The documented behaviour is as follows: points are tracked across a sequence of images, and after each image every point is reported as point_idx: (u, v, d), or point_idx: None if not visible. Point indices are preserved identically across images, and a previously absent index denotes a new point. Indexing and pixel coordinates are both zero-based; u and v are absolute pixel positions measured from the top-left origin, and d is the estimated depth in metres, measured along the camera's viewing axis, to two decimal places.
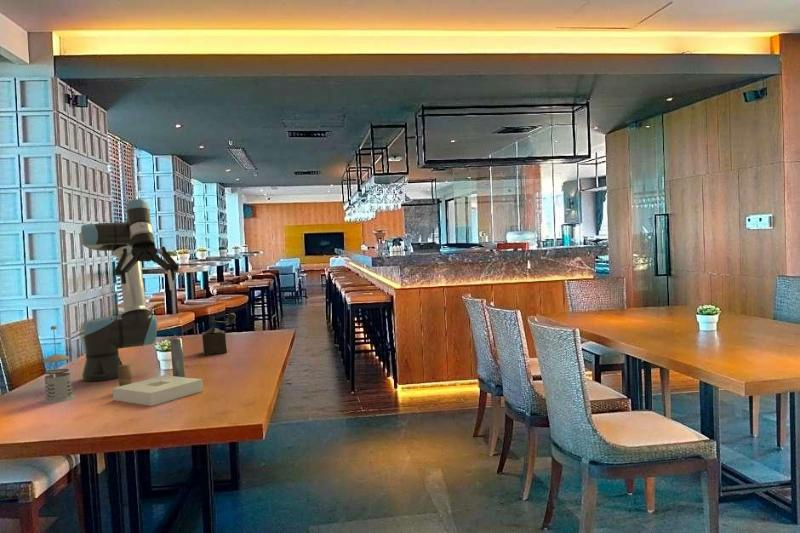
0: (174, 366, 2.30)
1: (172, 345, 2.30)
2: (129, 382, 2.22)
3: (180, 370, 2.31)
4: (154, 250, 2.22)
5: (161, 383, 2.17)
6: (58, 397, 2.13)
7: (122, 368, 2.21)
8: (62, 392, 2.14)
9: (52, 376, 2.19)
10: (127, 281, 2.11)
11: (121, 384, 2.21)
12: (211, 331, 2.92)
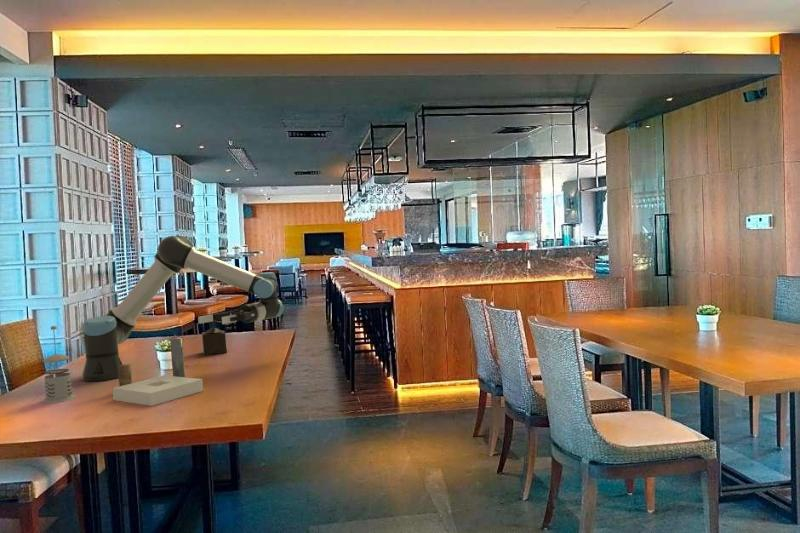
0: (174, 366, 2.30)
1: (172, 345, 2.30)
2: (129, 382, 2.22)
3: (180, 370, 2.31)
4: None
5: (161, 383, 2.17)
6: (58, 397, 2.13)
7: (122, 368, 2.21)
8: (62, 392, 2.14)
9: (52, 376, 2.19)
10: None
11: (121, 384, 2.21)
12: (211, 331, 2.92)
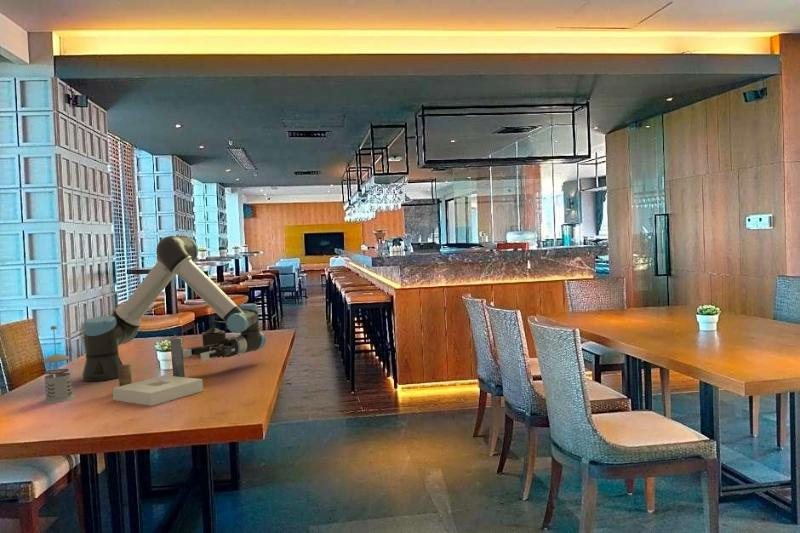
0: (174, 366, 2.30)
1: (172, 345, 2.30)
2: (129, 382, 2.22)
3: (180, 370, 2.31)
4: None
5: (161, 383, 2.17)
6: (58, 397, 2.13)
7: (122, 368, 2.21)
8: (62, 392, 2.14)
9: (52, 376, 2.19)
10: None
11: (121, 384, 2.21)
12: (211, 331, 2.92)
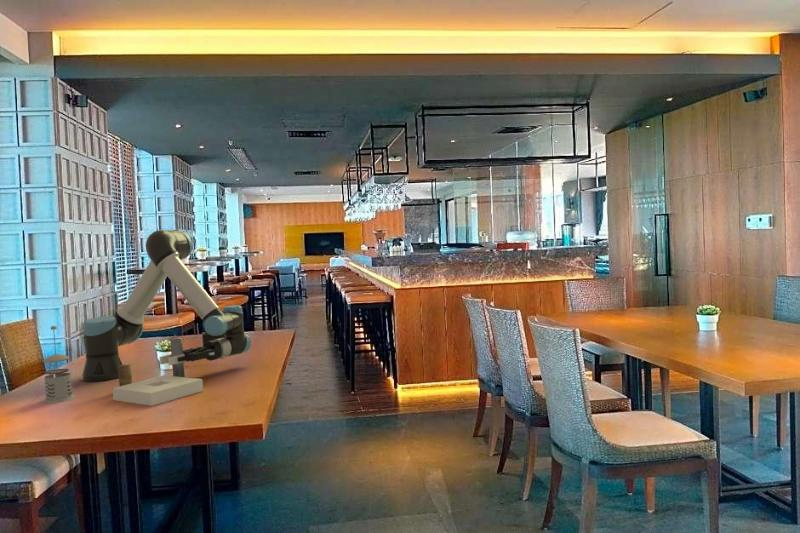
0: (174, 366, 2.30)
1: (172, 345, 2.30)
2: (129, 382, 2.22)
3: (180, 370, 2.31)
4: None
5: (161, 383, 2.17)
6: (58, 397, 2.13)
7: (122, 368, 2.21)
8: (62, 392, 2.14)
9: (52, 376, 2.19)
10: (176, 363, 2.29)
11: (121, 384, 2.21)
12: None
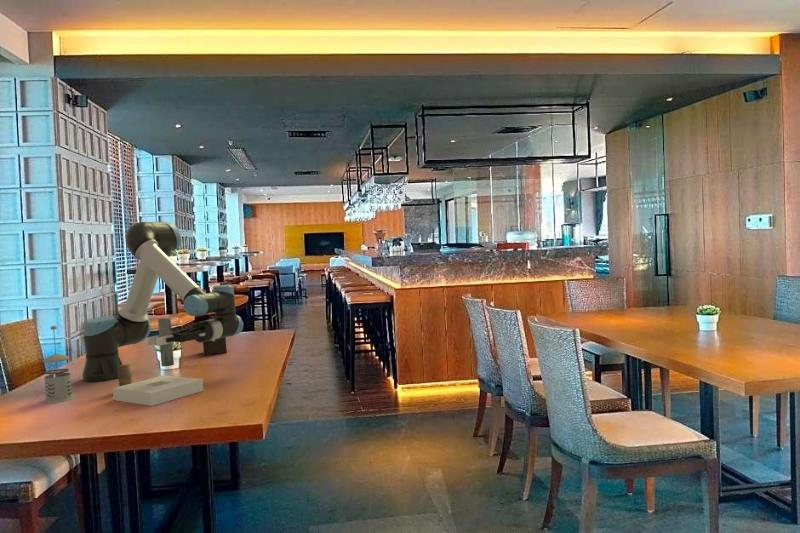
0: (162, 347, 2.17)
1: (160, 325, 2.17)
2: (129, 382, 2.22)
3: (168, 351, 2.17)
4: None
5: (161, 383, 2.17)
6: (58, 397, 2.13)
7: (122, 368, 2.21)
8: (62, 392, 2.14)
9: (52, 376, 2.19)
10: None
11: (121, 384, 2.21)
12: None
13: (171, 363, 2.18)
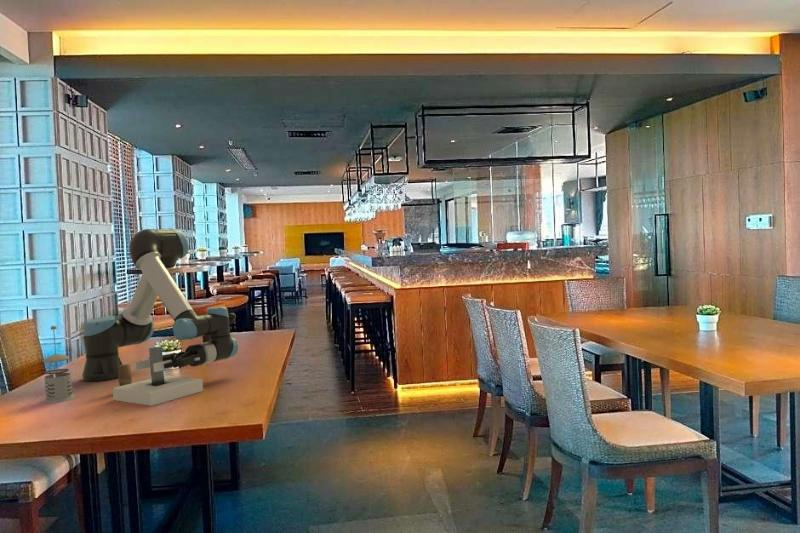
0: (153, 378, 2.12)
1: (151, 355, 2.11)
2: (129, 382, 2.22)
3: (159, 381, 2.12)
4: None
5: None
6: (58, 397, 2.13)
7: (122, 368, 2.21)
8: (62, 392, 2.14)
9: (52, 376, 2.19)
10: None
11: (121, 384, 2.21)
12: None
13: None
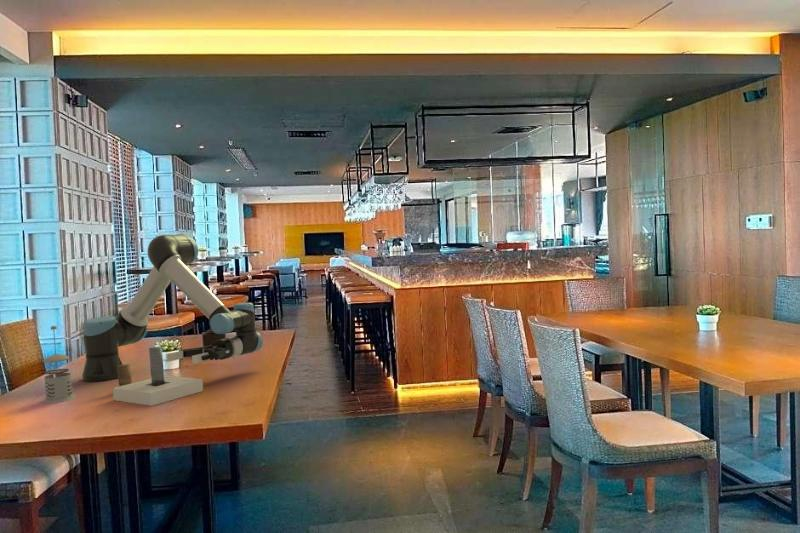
0: (153, 378, 2.12)
1: (151, 355, 2.11)
2: (129, 381, 2.23)
3: (159, 381, 2.12)
4: None
5: None
6: (58, 397, 2.13)
7: (122, 368, 2.21)
8: (62, 392, 2.14)
9: (52, 376, 2.19)
10: None
11: (121, 384, 2.21)
12: (211, 331, 2.92)
13: None
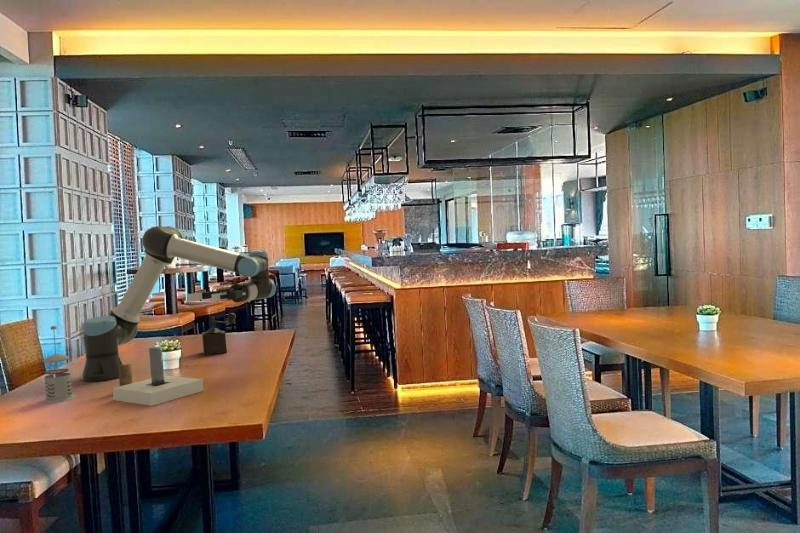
0: (153, 378, 2.12)
1: (151, 355, 2.11)
2: (130, 381, 2.23)
3: (159, 381, 2.12)
4: None
5: None
6: (58, 397, 2.13)
7: (124, 367, 2.21)
8: (62, 392, 2.14)
9: (52, 376, 2.19)
10: (219, 300, 2.34)
11: (122, 383, 2.21)
12: (211, 331, 2.92)
13: None
